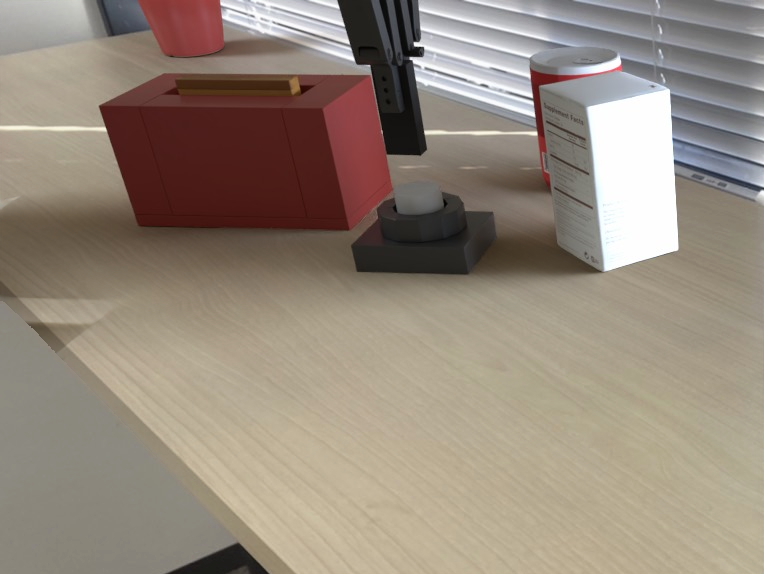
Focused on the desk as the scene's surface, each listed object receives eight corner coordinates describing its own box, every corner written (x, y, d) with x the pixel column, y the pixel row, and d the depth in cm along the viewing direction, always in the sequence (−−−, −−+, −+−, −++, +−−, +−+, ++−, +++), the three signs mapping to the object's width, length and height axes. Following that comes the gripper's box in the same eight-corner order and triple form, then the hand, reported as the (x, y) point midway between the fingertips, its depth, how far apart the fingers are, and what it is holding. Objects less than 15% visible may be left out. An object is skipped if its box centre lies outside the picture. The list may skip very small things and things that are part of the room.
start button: (390, 218, 90) (386, 195, 89) (406, 202, 93) (402, 180, 91) (435, 219, 89) (431, 196, 88) (450, 203, 92) (446, 181, 91)
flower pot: (150, 64, 147) (125, -20, 142) (150, 46, 156) (126, -34, 150) (238, 55, 151) (217, -28, 145) (233, 38, 159) (213, -41, 153)
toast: (208, 198, 102) (174, 79, 96) (217, 191, 103) (184, 74, 98) (317, 200, 101) (288, 80, 95) (324, 194, 102) (297, 75, 97)
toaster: (137, 225, 100) (98, 105, 94) (197, 185, 108) (163, 72, 102) (349, 230, 98) (322, 108, 92) (393, 189, 106) (370, 74, 100)
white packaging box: (632, 226, 97) (620, 67, 90) (680, 252, 92) (672, 86, 85) (554, 246, 94) (535, 83, 86) (600, 274, 89) (584, 104, 82)
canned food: (626, 196, 103) (616, 66, 97) (537, 197, 104) (521, 67, 97) (633, 169, 110) (624, 45, 103) (549, 170, 110) (535, 46, 103)
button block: (356, 272, 90) (345, 222, 88) (392, 235, 97) (382, 187, 94) (468, 275, 89) (460, 224, 87) (497, 237, 96) (490, 189, 93)
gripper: (361, -215, 69) (426, 181, 83) (431, -224, 79) (479, 128, 93) (240, -214, 69) (326, 178, 83) (326, -224, 80) (389, 126, 94)
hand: (406, 151), depth 88 cm, fingers closed
